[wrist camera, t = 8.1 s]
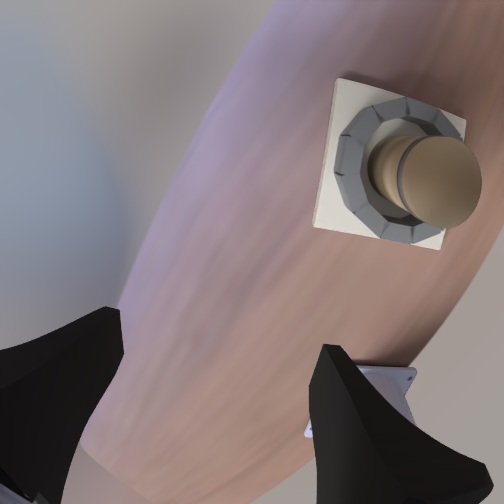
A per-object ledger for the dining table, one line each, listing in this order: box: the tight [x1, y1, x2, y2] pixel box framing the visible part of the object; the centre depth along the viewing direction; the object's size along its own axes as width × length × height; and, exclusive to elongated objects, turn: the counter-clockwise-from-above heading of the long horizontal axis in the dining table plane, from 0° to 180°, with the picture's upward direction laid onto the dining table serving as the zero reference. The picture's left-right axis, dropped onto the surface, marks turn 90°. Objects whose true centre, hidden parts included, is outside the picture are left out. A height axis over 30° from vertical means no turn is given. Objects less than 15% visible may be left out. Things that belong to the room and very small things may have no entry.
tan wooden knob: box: [367, 135, 482, 229], centre depth 14 cm, size 4×4×6 cm
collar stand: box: [312, 78, 466, 250], centre depth 16 cm, size 9×9×3 cm
